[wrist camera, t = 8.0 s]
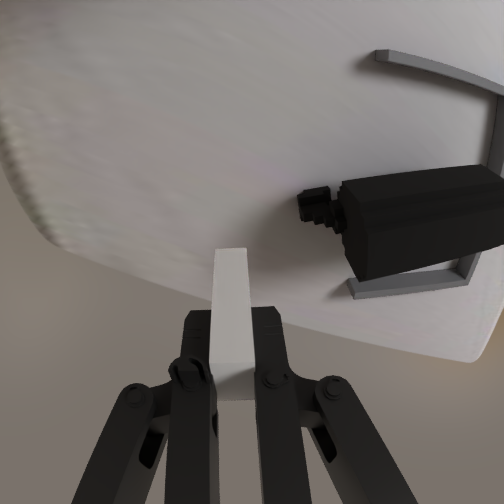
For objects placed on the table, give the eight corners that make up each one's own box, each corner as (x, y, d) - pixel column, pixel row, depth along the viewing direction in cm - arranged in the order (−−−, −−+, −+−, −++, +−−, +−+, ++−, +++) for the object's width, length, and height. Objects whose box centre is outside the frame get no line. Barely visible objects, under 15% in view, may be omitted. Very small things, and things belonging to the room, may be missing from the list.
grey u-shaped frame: (375, 49, 20) (388, 49, 18) (504, 88, 21) (519, 93, 19) (347, 285, 34) (353, 299, 32) (458, 273, 35) (467, 285, 33)
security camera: (292, 168, 26) (321, 221, 18) (459, 148, 25) (523, 187, 17) (300, 234, 30) (326, 304, 22) (453, 206, 29) (507, 255, 21)
